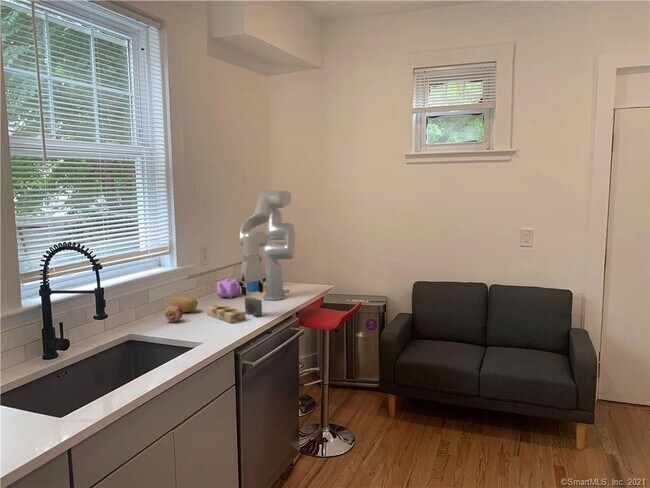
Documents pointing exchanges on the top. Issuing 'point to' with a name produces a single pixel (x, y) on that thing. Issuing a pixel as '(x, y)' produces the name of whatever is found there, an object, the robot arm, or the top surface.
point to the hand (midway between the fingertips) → (252, 293)
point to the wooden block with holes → (226, 313)
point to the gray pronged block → (253, 307)
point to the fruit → (173, 313)
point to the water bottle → (253, 285)
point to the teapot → (228, 288)
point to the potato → (185, 303)
